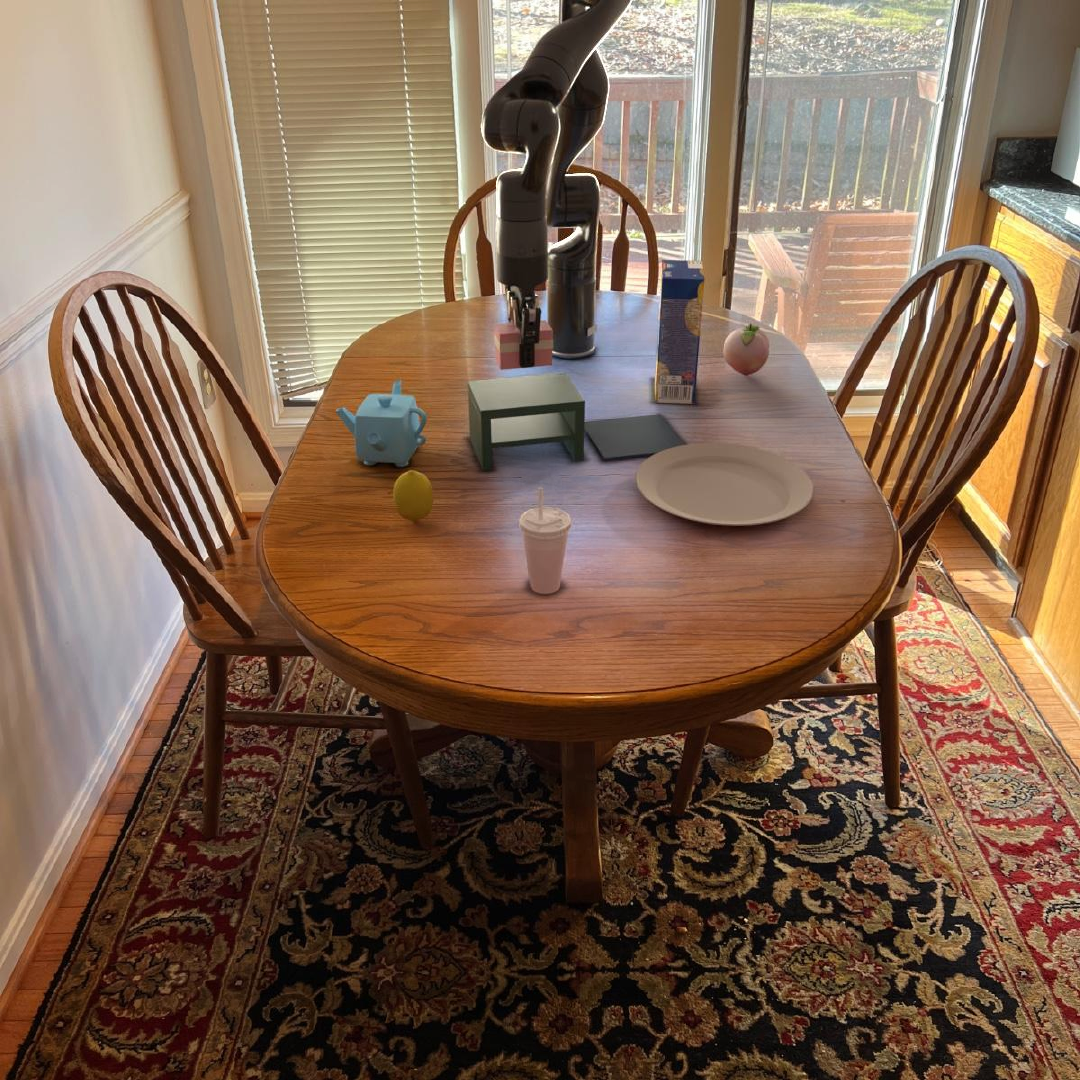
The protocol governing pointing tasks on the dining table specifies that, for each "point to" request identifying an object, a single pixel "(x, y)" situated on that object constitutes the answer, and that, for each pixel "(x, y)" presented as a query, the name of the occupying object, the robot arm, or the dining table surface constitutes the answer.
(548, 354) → the block
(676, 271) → the beverage box
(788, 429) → the dining table surface
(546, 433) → the shelf stand
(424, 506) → the lemon
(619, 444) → the mat
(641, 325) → the dining table surface
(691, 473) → the plate
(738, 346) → the decorative fruit
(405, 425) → the teapot
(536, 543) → the smoothie
